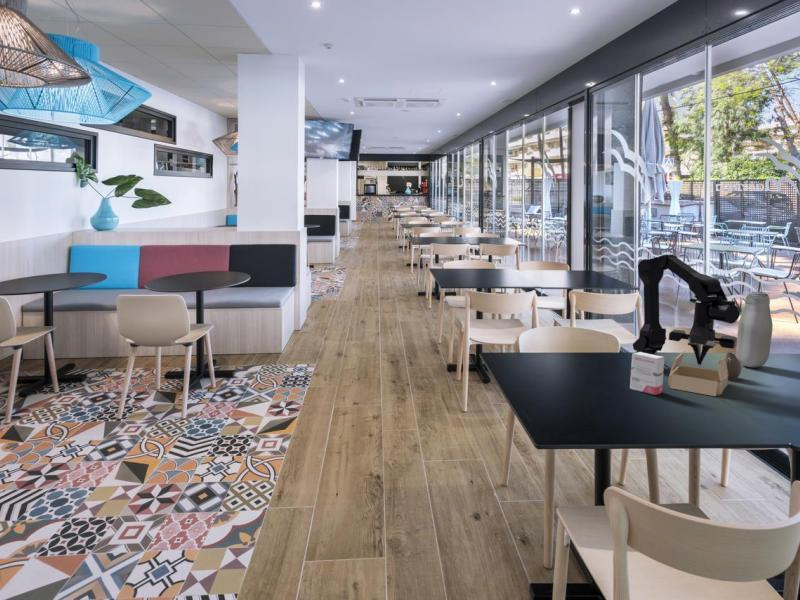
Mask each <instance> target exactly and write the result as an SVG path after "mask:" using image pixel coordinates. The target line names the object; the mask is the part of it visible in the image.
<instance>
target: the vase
mask: <svg viewBox="0 0 800 600" xmlns="http://www.w3.org/2000/svg"><path fill="white" fill-rule="evenodd" d="M723 357H725V360H726V365H727V369H728V373H727V374H728V381H730V380H731V381H733V380H736V379H738V378H739V377H740V376H741V372H742V364H741V363H740V362H739V360H738V359H737V355H736V353H734V352H726V354H725V355H724V356H723ZM719 362H720V360H719V361H718V363H719Z"/></svg>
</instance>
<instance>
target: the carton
mask: <svg viewBox="0 0 800 600" xmlns="http://www.w3.org/2000/svg"><path fill="white" fill-rule="evenodd" d="M728 381H729V380H728V374H726V376H725V377H724V378H723V380H722V381H720V378H719V373H718V369H711V368H705V367H699V366H693V365H685V364H680V365H679V366H678V367H677V368H676V369H675V370H674V371H673V372H672V373H671V372H670V373H669V375H668V383H667V386H668V387H669V388H670V389H674V390H678V391H684V392H689V393H694V394H695V393H696V394H699V395H700V394H701V395H704V396H705V395H706V396H712V397H716V396H719V397H721V396H722V395H723V393H724V391H725V390H726V388H727V387H728Z"/></svg>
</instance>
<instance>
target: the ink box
mask: <svg viewBox="0 0 800 600" xmlns="http://www.w3.org/2000/svg"><path fill="white" fill-rule="evenodd" d="M657 355H658V354H657ZM657 355H652V354H648V353H643V352H638V353H637V352H633V353H632V354H631V366H630V367H631V368H630V383H629V389H630V390H634V391H637V392H640V393H641V392H642V393H646V394H650V395H653V396H656V395H657V396H658V395H659V394H660V395H661V393H662V392H663V385H664V384H663V382H664V371H665V370H664V369H665V356H661V355H658V356H657Z"/></svg>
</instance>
